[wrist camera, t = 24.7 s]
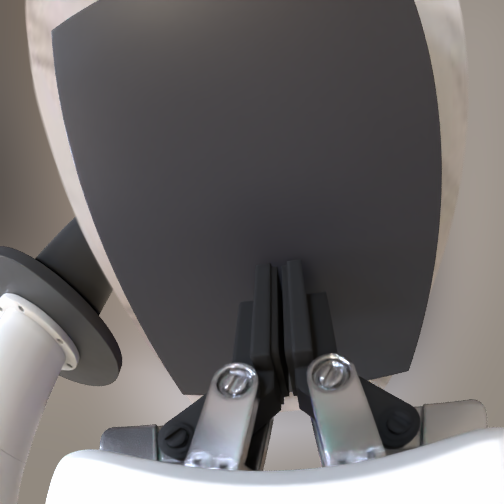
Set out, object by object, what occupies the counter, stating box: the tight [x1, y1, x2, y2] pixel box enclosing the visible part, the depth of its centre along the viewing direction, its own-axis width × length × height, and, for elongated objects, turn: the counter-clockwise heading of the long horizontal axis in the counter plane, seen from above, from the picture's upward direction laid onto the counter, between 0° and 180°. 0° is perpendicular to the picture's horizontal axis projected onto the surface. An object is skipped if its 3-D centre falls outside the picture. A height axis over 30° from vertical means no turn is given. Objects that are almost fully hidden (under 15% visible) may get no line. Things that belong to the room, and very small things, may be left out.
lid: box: [52, 0, 442, 395], centre depth 10 cm, size 20×14×1 cm, turn 12°
